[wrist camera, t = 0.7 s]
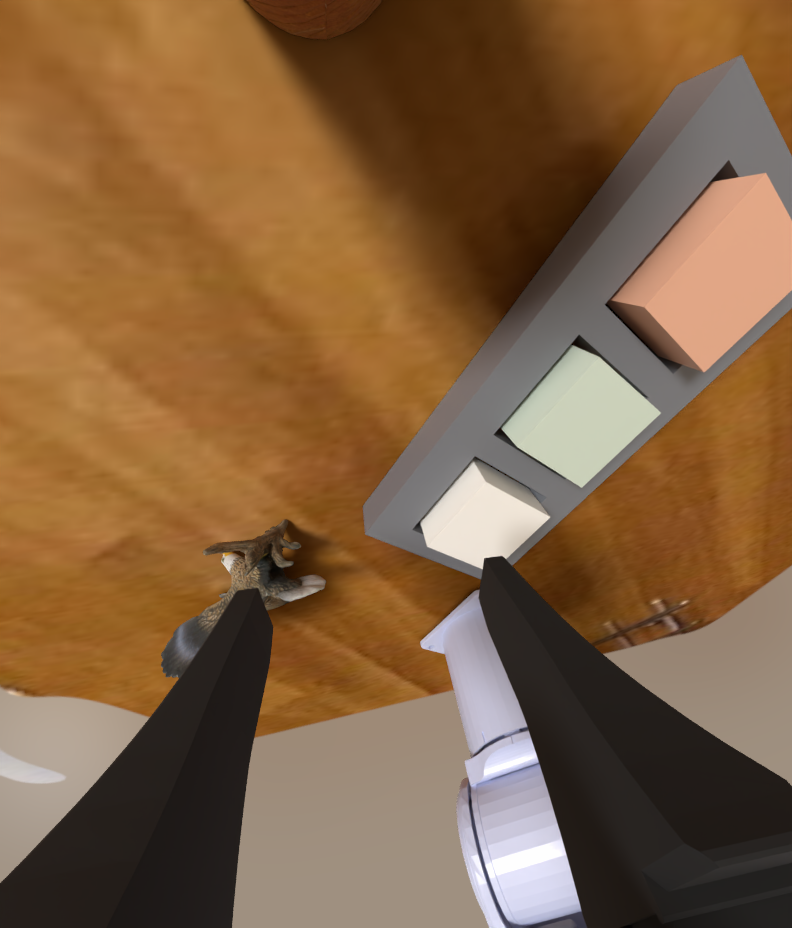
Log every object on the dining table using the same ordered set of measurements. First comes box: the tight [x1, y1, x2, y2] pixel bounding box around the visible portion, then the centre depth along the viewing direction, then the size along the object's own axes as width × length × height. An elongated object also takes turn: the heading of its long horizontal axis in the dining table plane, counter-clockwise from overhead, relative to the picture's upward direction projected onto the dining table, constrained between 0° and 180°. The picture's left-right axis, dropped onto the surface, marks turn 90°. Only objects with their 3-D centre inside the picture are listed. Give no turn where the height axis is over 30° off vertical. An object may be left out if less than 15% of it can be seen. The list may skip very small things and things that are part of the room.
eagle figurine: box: [161, 519, 326, 678], centre depth 20 cm, size 8×7×9 cm
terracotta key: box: [607, 173, 792, 372], centre depth 14 cm, size 5×5×3 cm
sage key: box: [500, 345, 661, 488], centre depth 17 cm, size 5×5×3 cm
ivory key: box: [420, 457, 550, 569], centre depth 20 cm, size 5×5×3 cm
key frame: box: [363, 55, 792, 579], centre depth 18 cm, size 10×23×2 cm, turn 146°
